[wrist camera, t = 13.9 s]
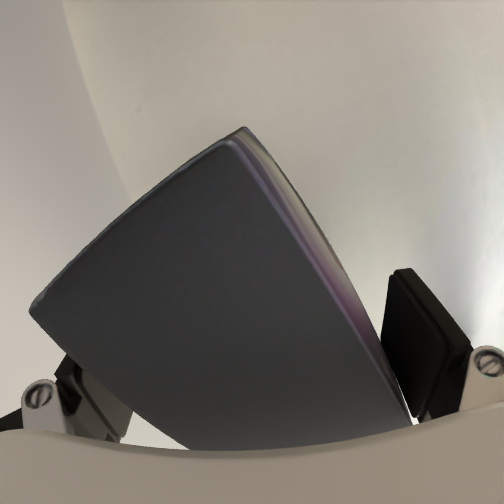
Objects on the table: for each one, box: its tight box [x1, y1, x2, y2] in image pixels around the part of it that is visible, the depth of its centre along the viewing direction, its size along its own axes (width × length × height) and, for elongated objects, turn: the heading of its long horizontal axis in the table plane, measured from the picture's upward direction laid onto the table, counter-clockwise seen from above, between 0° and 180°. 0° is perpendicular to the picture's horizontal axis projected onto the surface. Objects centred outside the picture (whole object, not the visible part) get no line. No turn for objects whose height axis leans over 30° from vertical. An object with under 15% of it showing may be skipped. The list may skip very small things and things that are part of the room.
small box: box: [29, 127, 413, 451], centre depth 11 cm, size 11×6×10 cm, turn 34°
